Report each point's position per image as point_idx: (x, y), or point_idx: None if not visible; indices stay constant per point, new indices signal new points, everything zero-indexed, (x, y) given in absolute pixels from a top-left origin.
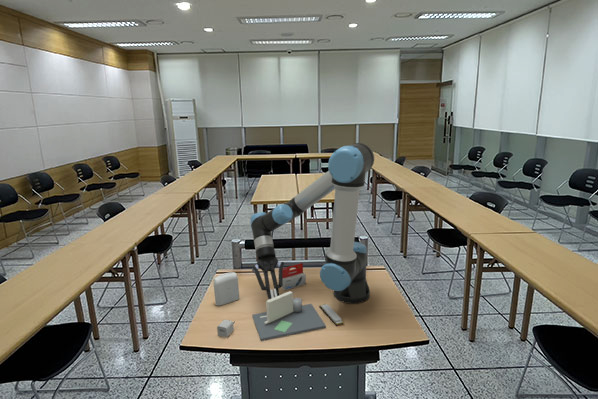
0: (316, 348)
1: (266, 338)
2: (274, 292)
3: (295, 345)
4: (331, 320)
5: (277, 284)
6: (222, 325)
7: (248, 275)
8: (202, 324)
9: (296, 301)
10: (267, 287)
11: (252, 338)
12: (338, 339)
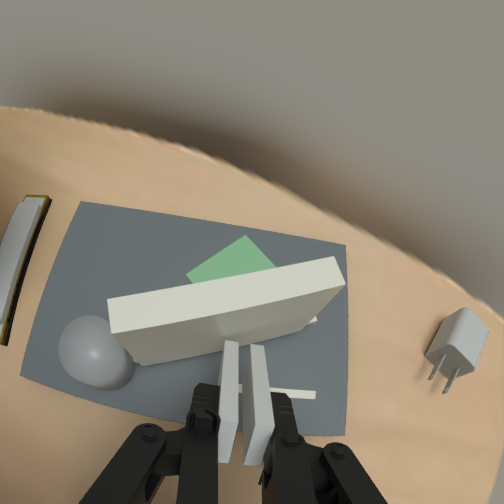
0: (180, 146)
1: (322, 243)
2: (237, 401)
3: (233, 180)
4: (38, 231)
5: (186, 446)
6: (478, 327)
7: None
8: (496, 425)
9: (97, 335)
10: (299, 446)
11: (366, 280)
12: (98, 150)
